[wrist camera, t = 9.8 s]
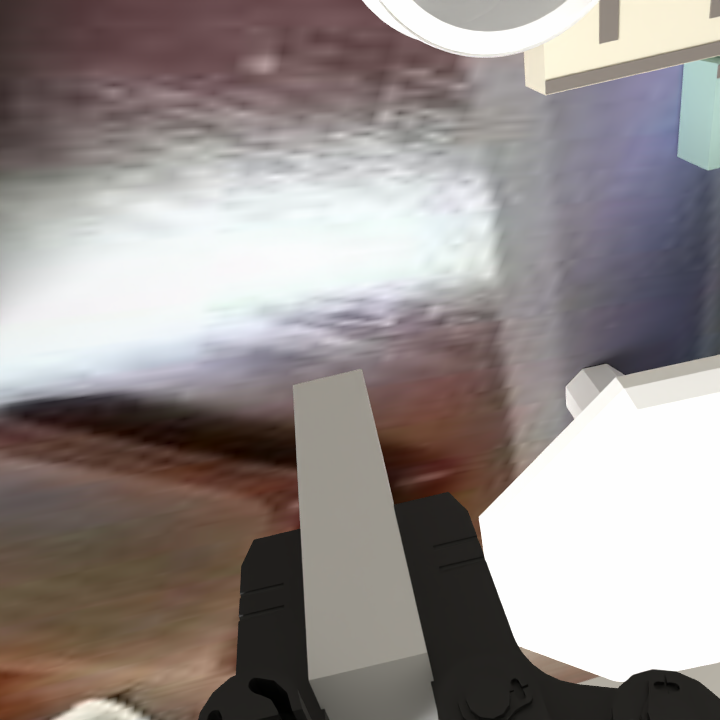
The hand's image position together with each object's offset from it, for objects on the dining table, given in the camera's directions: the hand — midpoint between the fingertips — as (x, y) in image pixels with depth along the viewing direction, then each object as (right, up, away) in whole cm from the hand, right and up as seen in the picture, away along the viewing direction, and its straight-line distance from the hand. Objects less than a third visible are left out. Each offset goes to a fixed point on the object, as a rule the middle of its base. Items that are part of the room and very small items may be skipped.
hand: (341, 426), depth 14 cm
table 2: (+19, -1, +37) cm, 41 cm away
